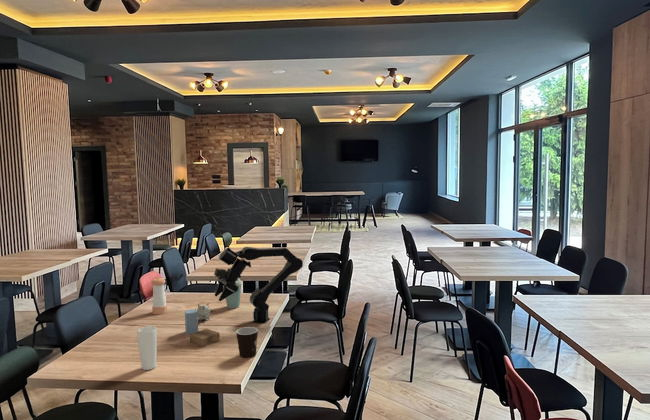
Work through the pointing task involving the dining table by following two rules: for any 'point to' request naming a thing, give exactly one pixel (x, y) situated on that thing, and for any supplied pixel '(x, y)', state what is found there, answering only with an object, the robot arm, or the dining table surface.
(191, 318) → the blue block
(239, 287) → the disposable coffee cup
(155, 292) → the salt shaker
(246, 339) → the coffee mug
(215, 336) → the walnut block
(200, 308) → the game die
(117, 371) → the dining table surface
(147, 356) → the drinking glass
